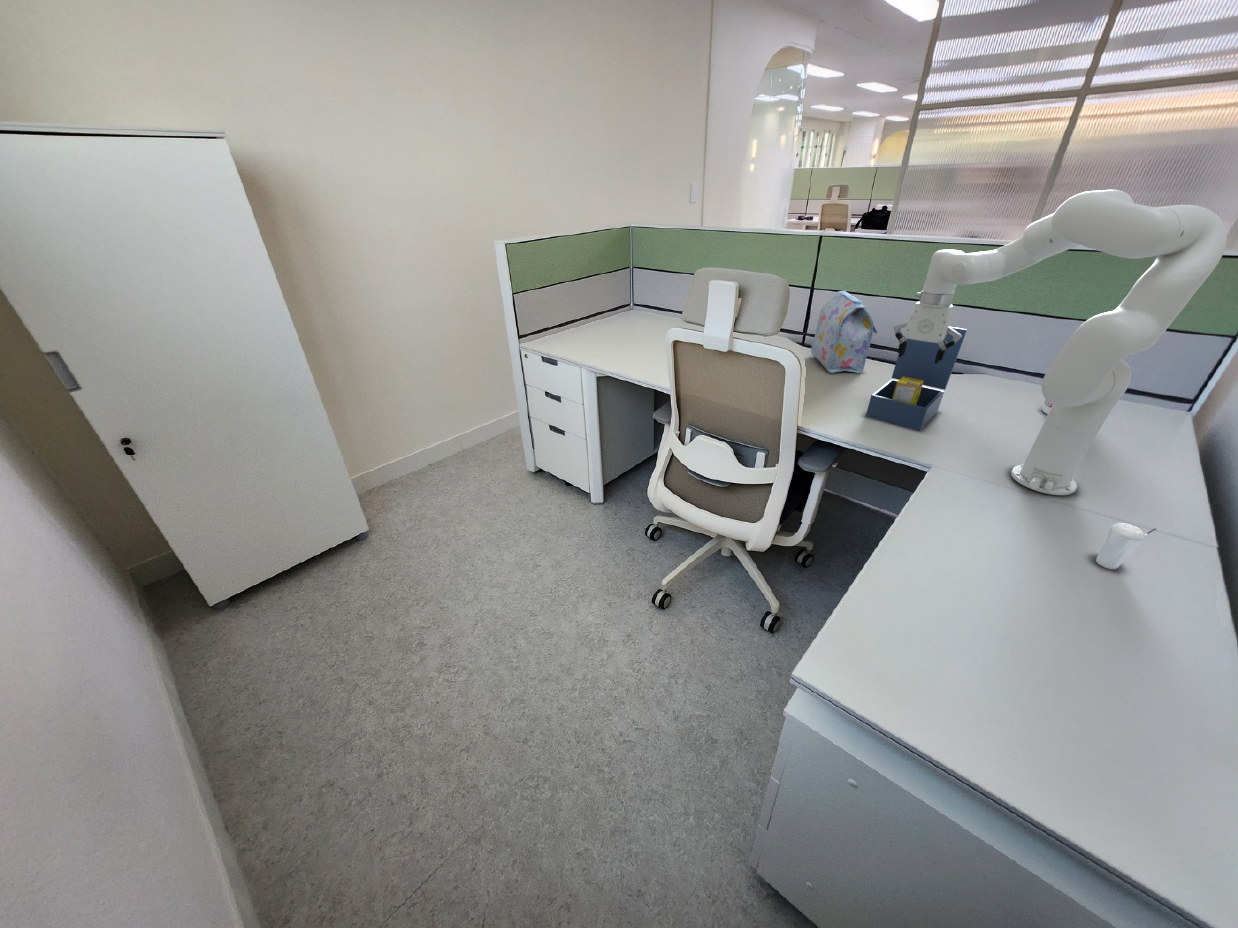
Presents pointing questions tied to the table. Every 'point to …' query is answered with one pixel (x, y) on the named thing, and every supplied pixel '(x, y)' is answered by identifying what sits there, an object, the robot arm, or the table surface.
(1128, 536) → the milkshake
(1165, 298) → the robot arm
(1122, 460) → the table surface
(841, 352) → the lunch bag
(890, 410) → the box
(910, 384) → the supplement box
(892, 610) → the table surface
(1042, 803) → the table surface
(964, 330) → the lunchbox lid
